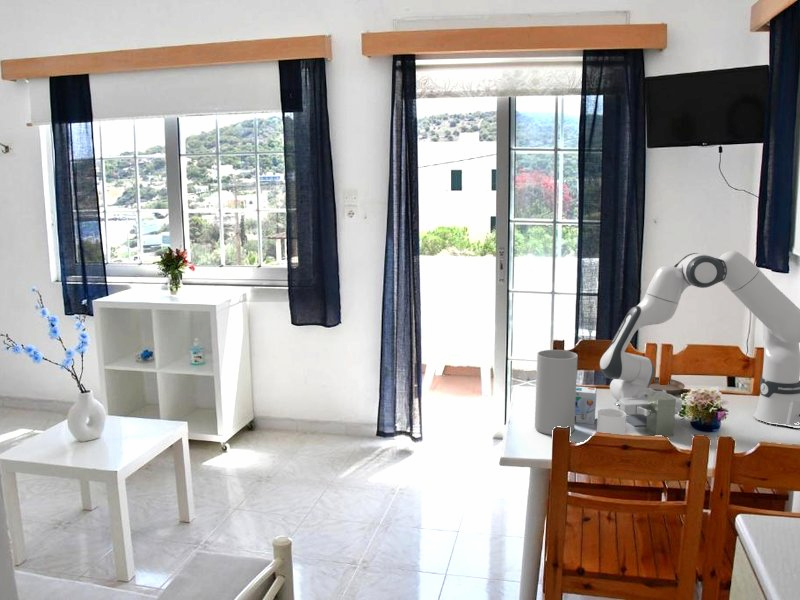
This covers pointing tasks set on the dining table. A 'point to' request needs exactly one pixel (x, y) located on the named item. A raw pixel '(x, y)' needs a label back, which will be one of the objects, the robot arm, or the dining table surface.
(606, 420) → the cup
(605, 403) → the dining table surface
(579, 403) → the light bulb box
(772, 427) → the dining table surface
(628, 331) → the robot arm
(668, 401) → the sage green pillar
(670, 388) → the plant saucer
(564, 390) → the cylinder vase
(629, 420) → the slate mat
